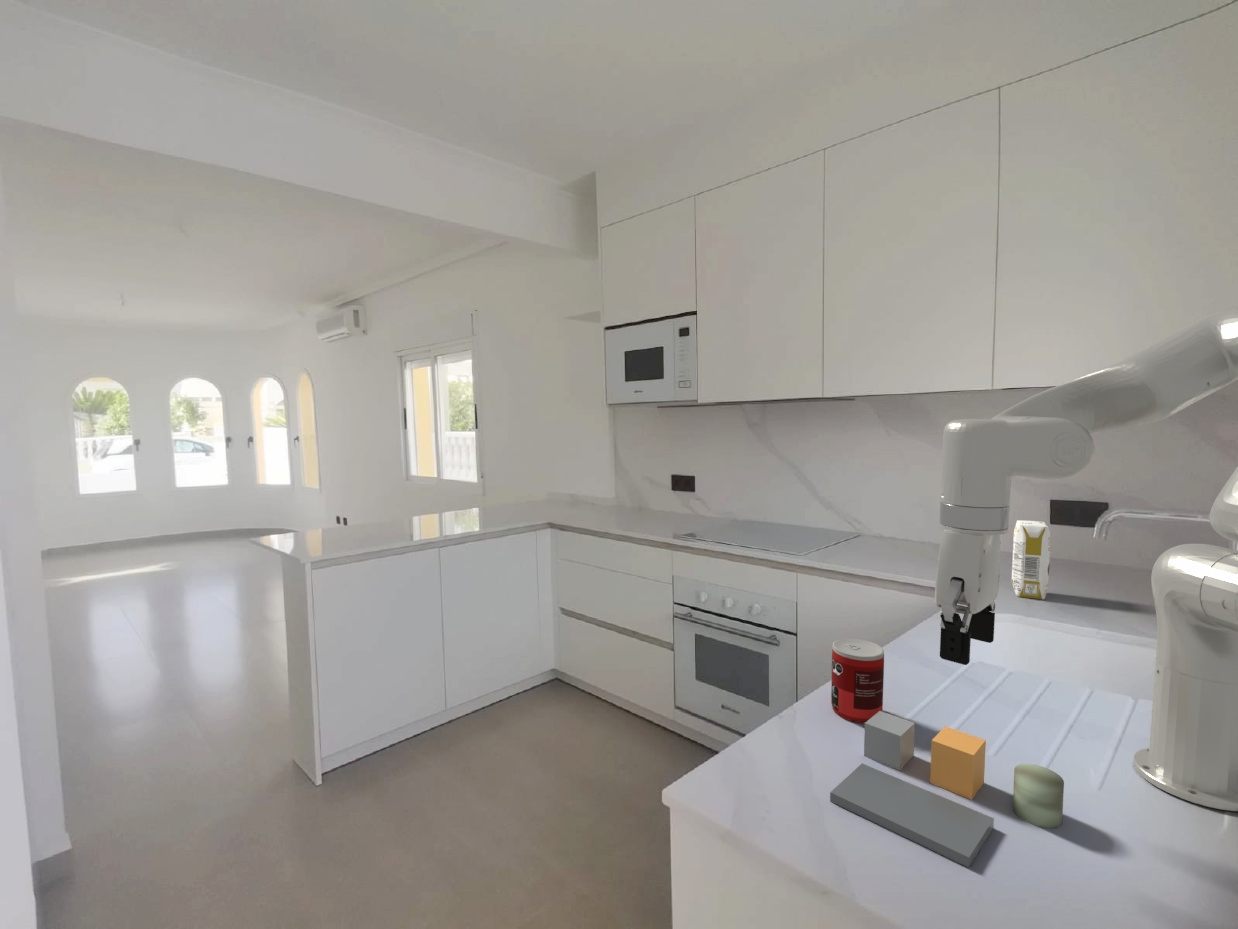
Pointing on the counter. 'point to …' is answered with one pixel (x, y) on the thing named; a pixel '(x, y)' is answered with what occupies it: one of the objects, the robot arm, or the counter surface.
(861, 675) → the canned food
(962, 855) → the slate board
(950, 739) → the orange block
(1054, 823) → the sage cylinder
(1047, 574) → the juice carton
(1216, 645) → the robot arm
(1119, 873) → the counter surface
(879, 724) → the grey block
